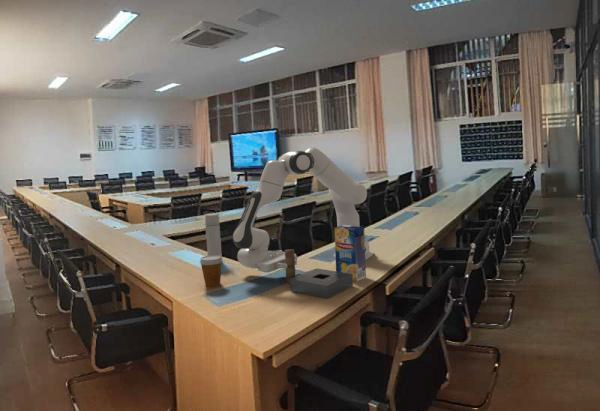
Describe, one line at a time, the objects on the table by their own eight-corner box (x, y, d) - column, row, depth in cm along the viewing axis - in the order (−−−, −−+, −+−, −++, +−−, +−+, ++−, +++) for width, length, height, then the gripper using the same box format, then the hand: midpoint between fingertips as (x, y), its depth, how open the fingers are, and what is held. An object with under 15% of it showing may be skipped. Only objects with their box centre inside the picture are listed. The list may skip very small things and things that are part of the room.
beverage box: (345, 273, 199) (344, 225, 197) (366, 277, 192) (364, 227, 189) (336, 277, 195) (334, 227, 192) (356, 281, 187) (354, 229, 184)
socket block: (316, 279, 192) (316, 268, 192) (352, 285, 181) (352, 273, 180) (290, 291, 178) (289, 279, 178) (327, 298, 167) (327, 285, 166)
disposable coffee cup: (199, 283, 194) (197, 256, 193) (221, 280, 198) (219, 253, 197) (204, 289, 186) (201, 261, 184) (226, 285, 189) (224, 258, 188)
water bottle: (225, 261, 231) (221, 214, 228) (210, 264, 227) (207, 216, 223) (217, 258, 239) (214, 212, 235) (203, 261, 234) (200, 214, 231)
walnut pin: (290, 280, 192) (288, 249, 190) (297, 282, 190) (296, 250, 188) (284, 283, 189) (282, 250, 187) (291, 284, 187) (290, 251, 185)
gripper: (250, 259, 188) (275, 262, 179) (281, 249, 204) (305, 252, 195) (251, 273, 189) (276, 278, 180) (282, 262, 205) (306, 266, 196)
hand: (291, 264), depth 188 cm, fingers closed on walnut pin, 4 cm apart
